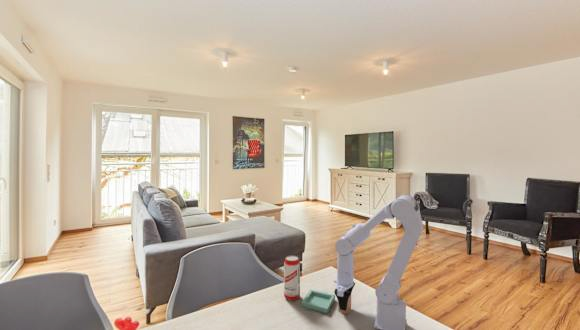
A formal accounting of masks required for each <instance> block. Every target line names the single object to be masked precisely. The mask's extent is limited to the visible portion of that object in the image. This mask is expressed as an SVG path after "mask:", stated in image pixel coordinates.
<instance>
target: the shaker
mask: <svg viewBox="0 0 580 330" xmlns="http://www.w3.org/2000/svg"><path fill="white" fill-rule="evenodd" d="M346 292H348V291H346ZM349 293H350V292H349ZM337 308H338V309H337V311H338V312H339V313H340V314H343V315H348V314H351V312H352V294H351V295H350V297H349V299H348V303H347V309H346V311H344V310H340V307H339V303H338V305H337Z"/></svg>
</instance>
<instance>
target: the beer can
mask: <svg viewBox="0 0 580 330" xmlns="http://www.w3.org/2000/svg"><path fill="white" fill-rule="evenodd" d="M283 269H284V270H283V297H285V299H286V300H287V301H291V302H292V301H297V300H298V299H299V298H300V297H301V296H300V295H301V294H300V293H301V263H300V259H299V257H298V256H297V255H294V254H293V255H288V256H286V257H285V260H284V261H283Z"/></svg>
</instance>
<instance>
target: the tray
mask: <svg viewBox="0 0 580 330" xmlns="http://www.w3.org/2000/svg"><path fill="white" fill-rule="evenodd" d="M335 301H336V295H335V294H331V293H329V292H327V293H326V292H323V291H319V290H315V289H314V290H313V289H310V290H309V291H308V292H307V294H306V295H305V296H304V298H303V299H302V301H301V306H300V307H301V308H302V309H306V310H310V311H313V312H316V313H321V314H324V315H328V313H329V312H330V310H331V309H332V306H333V304H334V303H335Z"/></svg>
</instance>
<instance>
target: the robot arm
mask: <svg viewBox="0 0 580 330" xmlns="http://www.w3.org/2000/svg"><path fill="white" fill-rule="evenodd" d="M420 210H421V209H420V205H419V203H418V202H417V201H416V199H415V198H414V197H413V196H412V195H410V194H401V195H399V196H398V197H397V198H396V199H393V200H392V201H390V202H388V203H386V204H385V205H384V206H383V207H381V208H380V209H379V210H377V212H376V213H375V214H373V215H372V216H371V217H370V218H369V219H367V220H366V221H365V222H364V223H362V222H359V223H354V224H353V225H351V229H350V230H348V231H347V232H344V233H343V234H342V235H343V236H342V237H340V238H339V239H337V240H336V242H335V244H334V249H335V251H336V253H337V259H336V261H337V262H336V263H337V264H336V265H337V267H336V268H337V269H336V277H335V278H334V279H333V282H334V283H335V284H336V286H337V287H336V288H335V289H334V295H335V298H336V299H337V302H338V303H339V307H340V310H344V311H346V309H347V303H348V299H349V297H350V295H351V296H352V293H353V289H354V288H355V285H356V282H354V250H355V249H356V248H357V247H358V246H360V245H361V244H362V243H363V242H365V241H366V240H367V239H369V238H370V236H371V231H372V230H373V229H375V228H376V227H377V226H378V225H380V224H381V223H382V222H384V221H385V220H390V219H391V220H392V219H393V220H394V219H396V220H398V221H399V222H400V223H401V225H402V226H403V228H404V232H403V234H402V236H401V239H400V241H399V243H398V245H397V248H396V251H395V253H394V255H393V257H392V260H391V262H390V265H389V267H388V270H387V271H386V273H385V274H384V276H382V278H381V280H380V282H379V283H378V285H377V287H376V289H375V291H374V292H375V296H376V314H375V319H374V323H373V328H374V329H378V330H406V326H407V319H406V317H407V301H404V300H402V299H400V295H399V291H400V290H401V288H402V284H401V280H402V277H403V275H404V272H405V271H406V268H407V266H408V264H409V262H410V260H411V257H412V255H413V253H414V251H415V248H416V246H417V244H418V242H419V239H420V237H421V236H422V234H423V233H422V232H423V230H424V223H423V219H422V216H421V211H420ZM346 291H348V292H346ZM349 292H350V293H349Z"/></svg>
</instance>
